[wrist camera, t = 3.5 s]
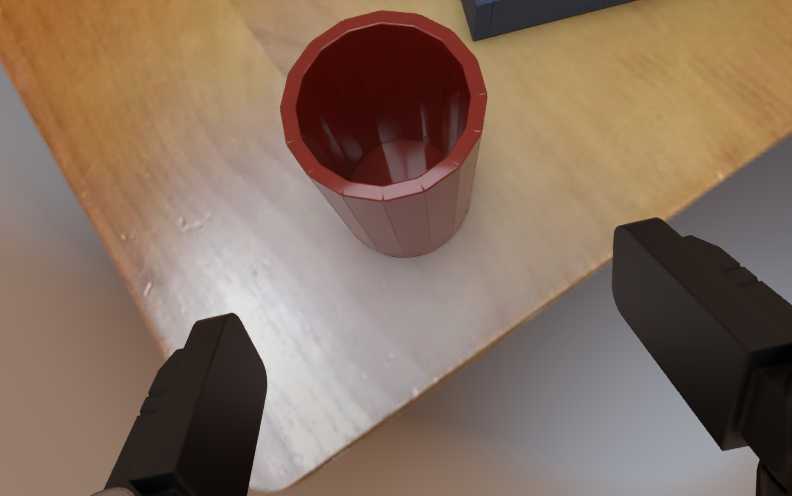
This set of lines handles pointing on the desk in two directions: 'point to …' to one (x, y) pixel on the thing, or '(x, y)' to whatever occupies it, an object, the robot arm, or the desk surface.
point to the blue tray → (523, 13)
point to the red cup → (388, 127)
